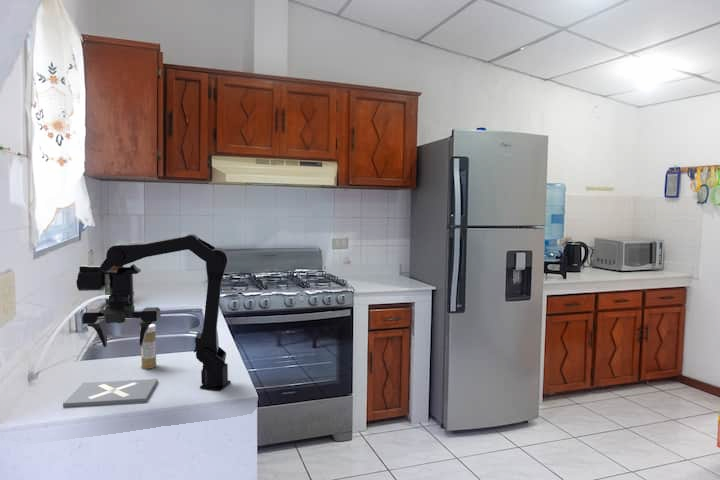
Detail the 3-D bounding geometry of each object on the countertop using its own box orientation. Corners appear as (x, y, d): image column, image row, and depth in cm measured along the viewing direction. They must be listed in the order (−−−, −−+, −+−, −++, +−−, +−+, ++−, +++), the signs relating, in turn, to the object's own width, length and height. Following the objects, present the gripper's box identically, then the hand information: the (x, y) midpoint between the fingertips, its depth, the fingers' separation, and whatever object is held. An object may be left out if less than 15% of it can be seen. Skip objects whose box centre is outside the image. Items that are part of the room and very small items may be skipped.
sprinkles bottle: (144, 364, 158) (142, 323, 157) (158, 364, 158) (157, 323, 157) (139, 369, 153) (137, 327, 152) (154, 369, 154) (153, 327, 152)
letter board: (157, 382, 143) (157, 378, 143) (146, 402, 129) (145, 398, 129) (83, 386, 139) (83, 382, 139) (63, 407, 126) (62, 403, 126)
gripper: (72, 296, 124) (75, 357, 125) (151, 295, 127) (152, 353, 129) (88, 288, 135) (90, 344, 136) (160, 287, 138) (161, 341, 139)
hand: (123, 345), depth 135 cm, fingers open, 9 cm apart
